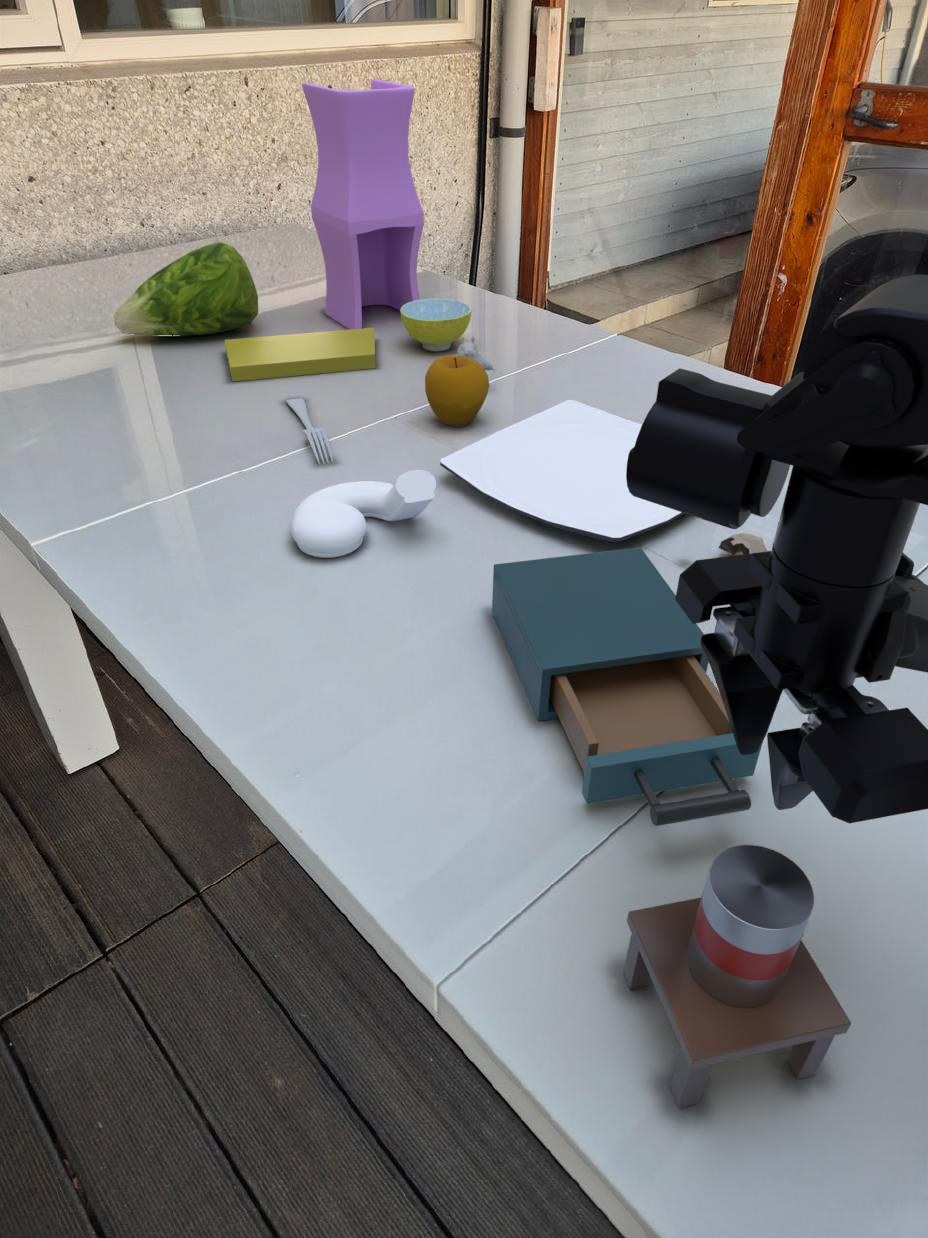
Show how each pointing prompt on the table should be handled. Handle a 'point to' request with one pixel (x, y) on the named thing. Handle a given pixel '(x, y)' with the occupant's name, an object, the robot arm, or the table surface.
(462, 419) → the apple
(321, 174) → the purple hollow column
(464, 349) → the figurine
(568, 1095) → the table surface
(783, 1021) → the stool
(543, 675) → the cabinet
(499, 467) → the plate
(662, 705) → the drawer
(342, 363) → the flat olive board
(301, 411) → the fork
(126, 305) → the lettuce
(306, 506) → the sculpture
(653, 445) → the robot arm
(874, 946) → the table surface
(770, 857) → the can
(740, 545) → the decorative stone
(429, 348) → the bowl
